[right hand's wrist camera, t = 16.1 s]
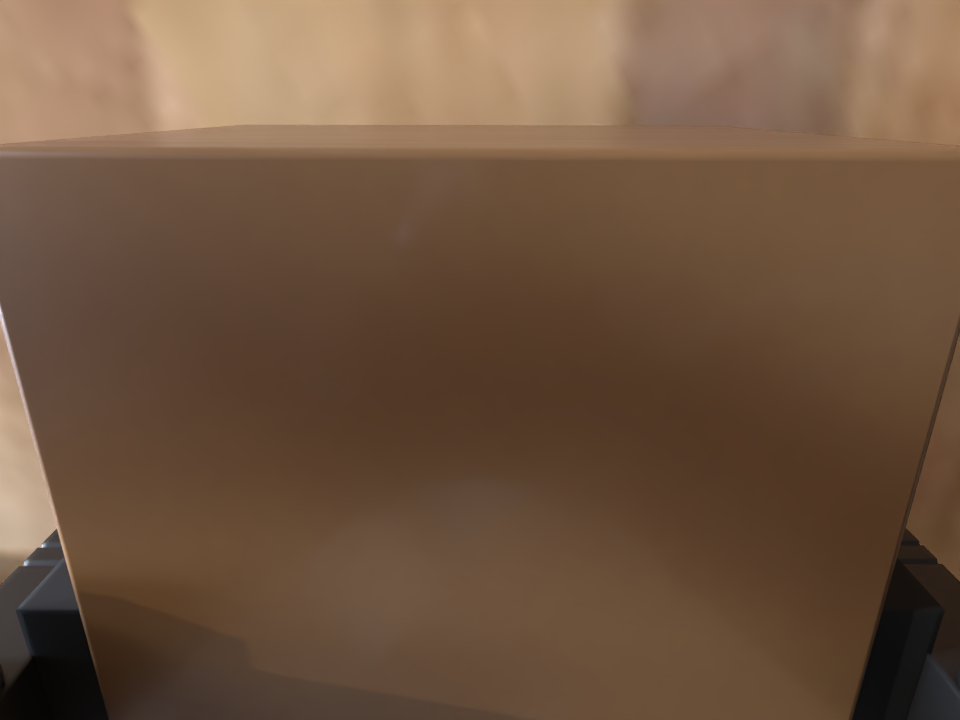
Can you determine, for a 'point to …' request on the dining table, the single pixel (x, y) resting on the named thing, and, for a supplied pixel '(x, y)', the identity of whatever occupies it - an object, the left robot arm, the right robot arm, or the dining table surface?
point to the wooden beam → (480, 411)
